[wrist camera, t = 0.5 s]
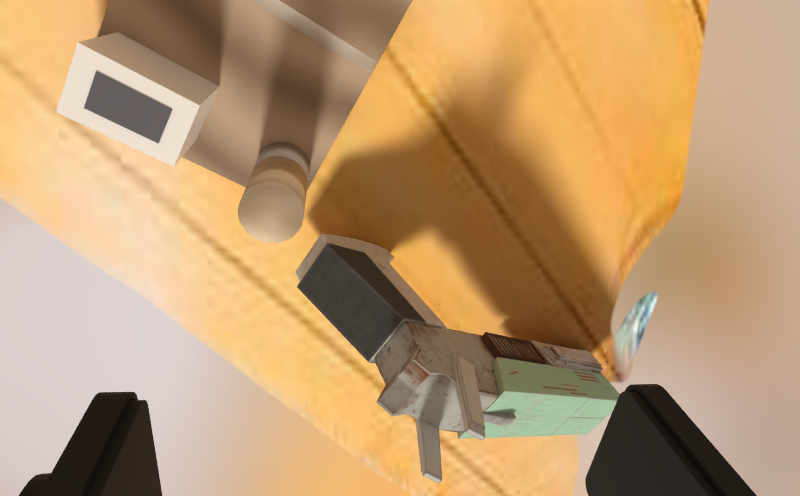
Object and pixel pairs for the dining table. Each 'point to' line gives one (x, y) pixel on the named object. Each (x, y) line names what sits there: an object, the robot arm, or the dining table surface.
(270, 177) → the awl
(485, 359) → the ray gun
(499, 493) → the dining table surface
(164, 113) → the white rectangular block
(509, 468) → the dining table surface
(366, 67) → the board
